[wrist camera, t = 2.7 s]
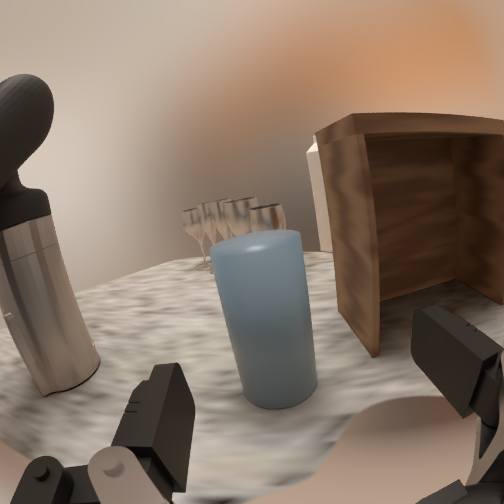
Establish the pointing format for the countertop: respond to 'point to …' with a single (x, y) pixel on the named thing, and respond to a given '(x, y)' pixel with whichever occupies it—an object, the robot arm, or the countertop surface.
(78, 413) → the countertop surface
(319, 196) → the milk
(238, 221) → the goblet set
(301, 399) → the grey-blue cylinder
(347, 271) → the open wooden box
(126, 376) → the countertop surface
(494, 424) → the robot arm
